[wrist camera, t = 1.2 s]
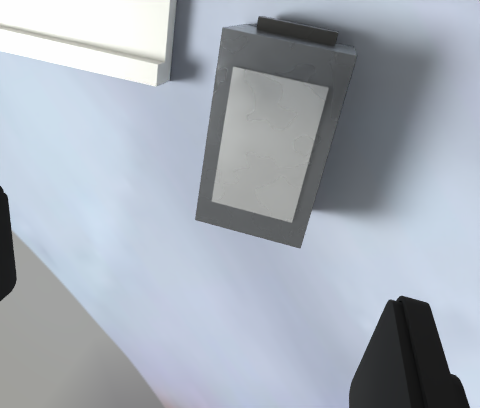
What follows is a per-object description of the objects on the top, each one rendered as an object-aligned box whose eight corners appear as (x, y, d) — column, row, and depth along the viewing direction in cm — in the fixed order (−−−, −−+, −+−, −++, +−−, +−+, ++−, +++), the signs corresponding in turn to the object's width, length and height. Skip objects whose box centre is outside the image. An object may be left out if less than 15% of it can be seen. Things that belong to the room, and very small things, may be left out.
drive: (357, 34, 21) (361, 41, 17) (307, 208, 26) (300, 250, 22) (247, 12, 22) (223, 12, 18) (218, 185, 27) (193, 221, 22)
